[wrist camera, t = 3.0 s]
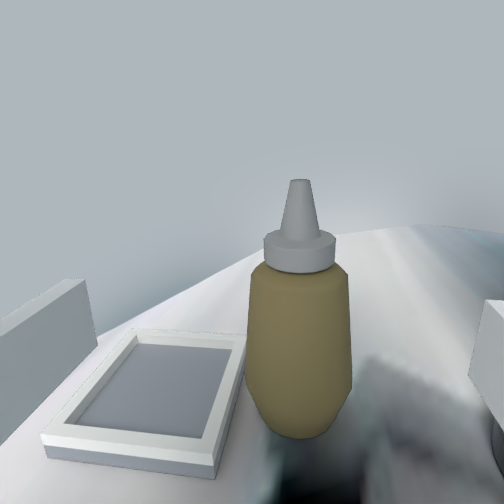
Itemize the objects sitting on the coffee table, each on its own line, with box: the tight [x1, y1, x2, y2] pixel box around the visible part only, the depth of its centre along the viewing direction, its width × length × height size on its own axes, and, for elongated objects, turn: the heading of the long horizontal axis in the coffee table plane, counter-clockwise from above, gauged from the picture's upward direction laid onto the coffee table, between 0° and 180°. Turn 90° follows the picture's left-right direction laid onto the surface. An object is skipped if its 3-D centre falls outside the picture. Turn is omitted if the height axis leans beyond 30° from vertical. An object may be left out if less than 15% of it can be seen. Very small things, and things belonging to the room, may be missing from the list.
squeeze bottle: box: [244, 179, 352, 439], centre depth 25 cm, size 8×8×18 cm
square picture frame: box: [40, 328, 247, 480], centre depth 29 cm, size 12×13×2 cm
